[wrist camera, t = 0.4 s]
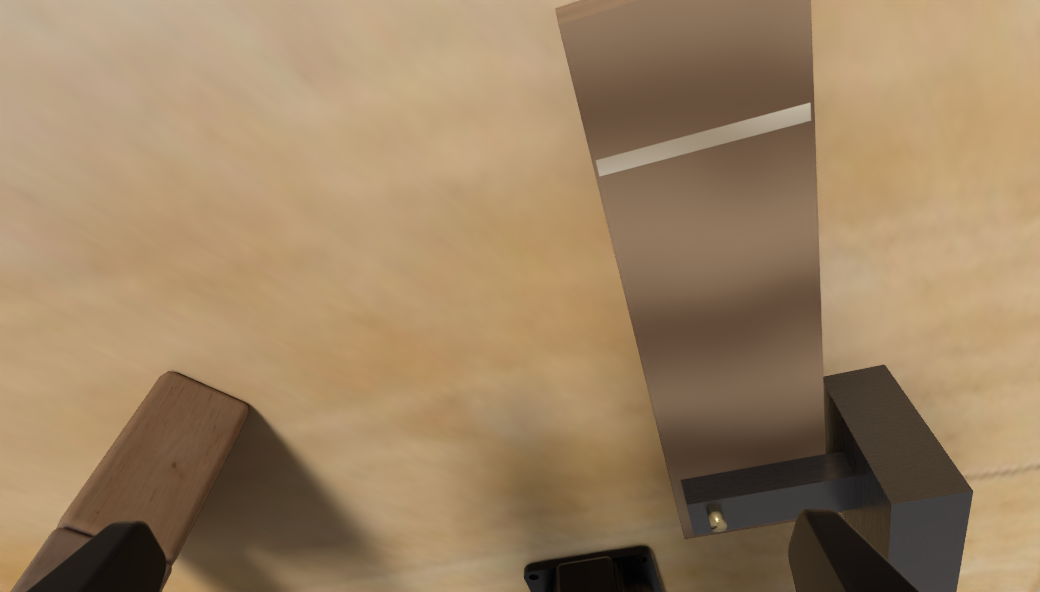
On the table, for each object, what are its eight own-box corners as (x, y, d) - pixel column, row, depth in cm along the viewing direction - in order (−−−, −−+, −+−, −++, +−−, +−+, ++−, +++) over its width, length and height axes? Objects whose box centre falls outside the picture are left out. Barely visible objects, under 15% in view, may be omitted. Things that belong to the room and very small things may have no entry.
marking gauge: (880, 463, 28) (956, 594, 23) (684, 497, 29) (716, 627, 25) (884, 364, 25) (973, 491, 20) (663, 407, 26) (695, 536, 21)
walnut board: (810, 477, 28) (828, 516, 27) (675, 501, 29) (684, 539, 28) (780, -63, 16) (809, -53, 15) (555, 8, 17) (558, 24, 16)
